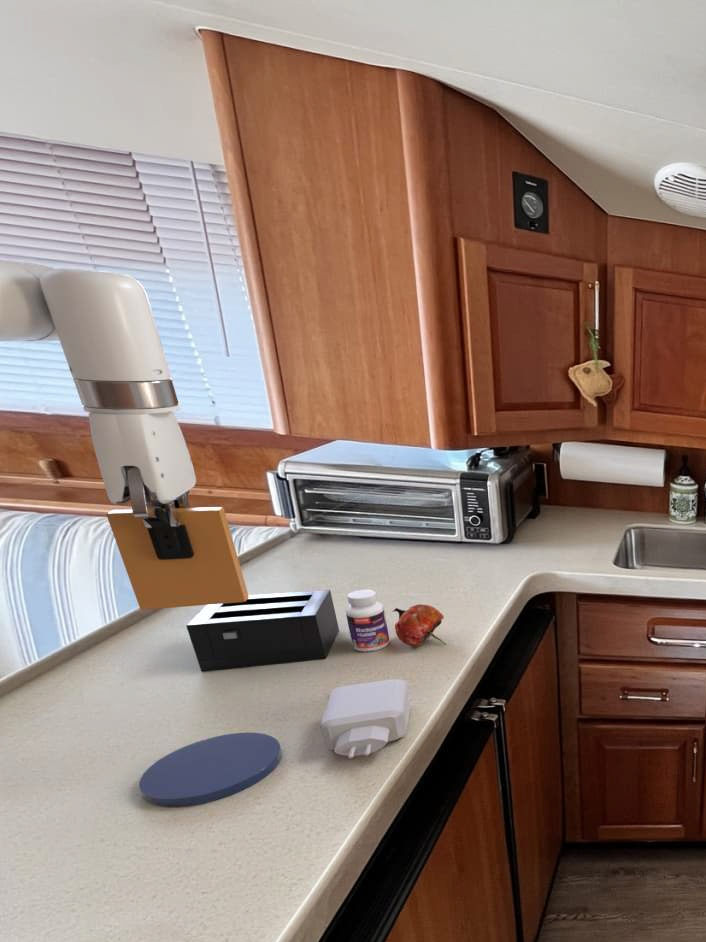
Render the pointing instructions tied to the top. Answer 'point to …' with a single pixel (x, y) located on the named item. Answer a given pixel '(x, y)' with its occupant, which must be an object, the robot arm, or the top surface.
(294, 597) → the toaster
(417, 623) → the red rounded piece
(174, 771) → the plate
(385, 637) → the pill bottle
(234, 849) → the top surface
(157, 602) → the toast
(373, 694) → the charger
